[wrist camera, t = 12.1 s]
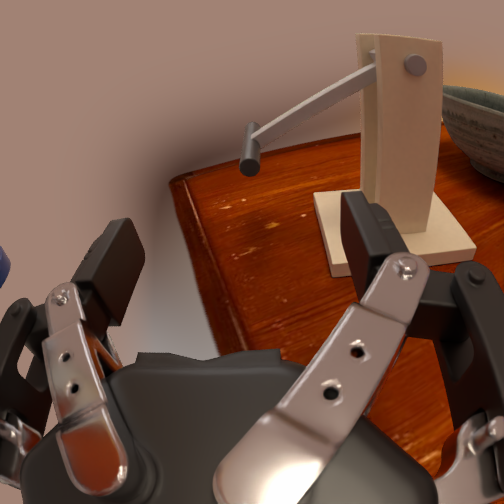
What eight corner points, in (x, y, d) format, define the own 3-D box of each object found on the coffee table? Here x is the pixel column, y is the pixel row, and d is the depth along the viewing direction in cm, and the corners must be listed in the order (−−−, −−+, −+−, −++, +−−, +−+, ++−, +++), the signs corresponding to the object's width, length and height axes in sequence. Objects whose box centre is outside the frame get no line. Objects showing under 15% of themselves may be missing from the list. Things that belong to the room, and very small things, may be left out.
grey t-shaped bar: (253, 188, 18) (228, 158, 17) (255, 143, 25) (237, 121, 23) (450, 77, 13) (433, 41, 12) (398, 61, 19) (384, 35, 18)
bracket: (332, 277, 22) (322, 32, 12) (313, 204, 29) (298, 34, 19) (472, 260, 20) (509, 57, 10) (426, 196, 28) (435, 40, 18)
